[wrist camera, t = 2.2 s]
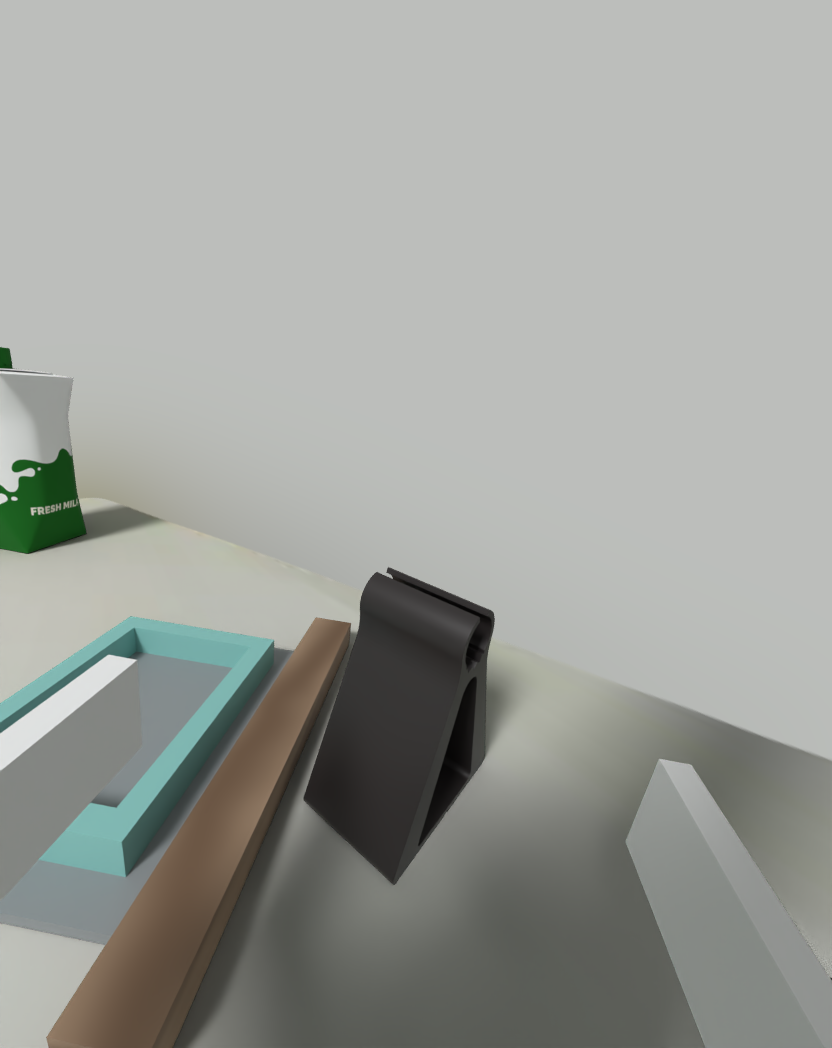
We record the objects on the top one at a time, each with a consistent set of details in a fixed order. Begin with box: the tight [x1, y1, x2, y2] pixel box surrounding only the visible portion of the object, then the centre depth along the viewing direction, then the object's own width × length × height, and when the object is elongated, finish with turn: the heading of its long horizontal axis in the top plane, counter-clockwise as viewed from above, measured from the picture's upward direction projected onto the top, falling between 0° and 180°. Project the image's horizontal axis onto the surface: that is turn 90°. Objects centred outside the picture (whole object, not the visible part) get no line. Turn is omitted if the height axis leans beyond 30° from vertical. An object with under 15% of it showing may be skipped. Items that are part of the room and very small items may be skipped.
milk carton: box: [0, 347, 86, 553], centre depth 44 cm, size 9×9×20 cm
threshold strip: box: [46, 618, 351, 1048], centre depth 24 cm, size 3×24×2 cm, turn 175°
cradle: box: [0, 616, 294, 945], centre depth 24 cm, size 13×18×3 cm
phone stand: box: [304, 568, 495, 885], centre depth 22 cm, size 9×6×12 cm, turn 144°
